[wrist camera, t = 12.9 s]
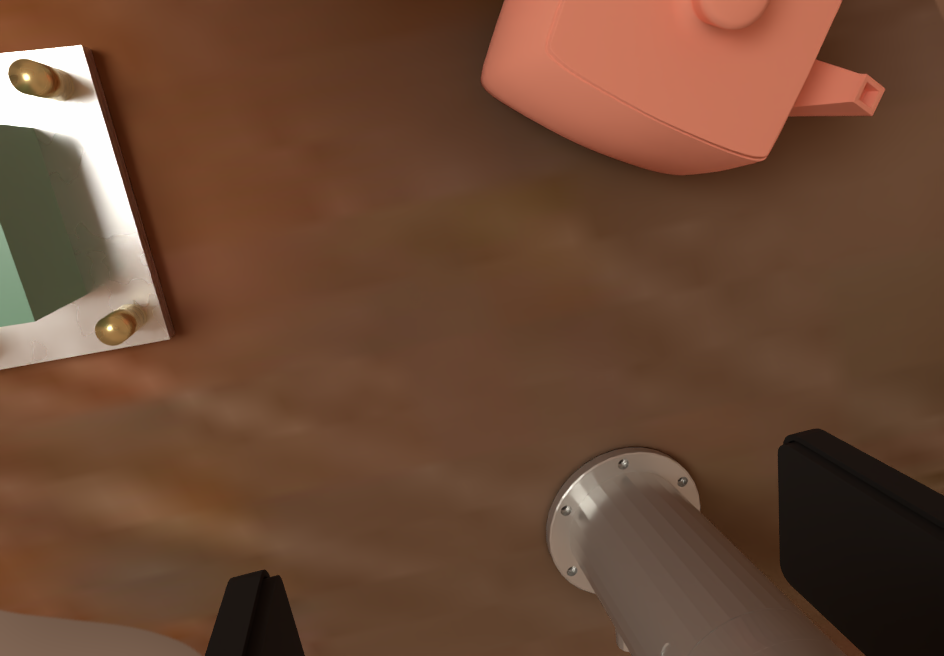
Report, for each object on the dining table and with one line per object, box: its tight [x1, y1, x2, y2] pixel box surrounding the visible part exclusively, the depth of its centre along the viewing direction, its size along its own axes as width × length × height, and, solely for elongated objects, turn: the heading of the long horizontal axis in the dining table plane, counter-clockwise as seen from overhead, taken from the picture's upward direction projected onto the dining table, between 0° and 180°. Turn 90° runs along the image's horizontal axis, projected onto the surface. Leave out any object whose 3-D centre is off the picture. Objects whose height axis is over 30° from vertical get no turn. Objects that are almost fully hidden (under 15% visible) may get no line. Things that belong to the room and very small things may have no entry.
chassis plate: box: [0, 45, 175, 370], centre depth 31 cm, size 16×12×4 cm
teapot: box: [481, 0, 885, 175], centre depth 30 cm, size 22×13×14 cm, turn 69°
